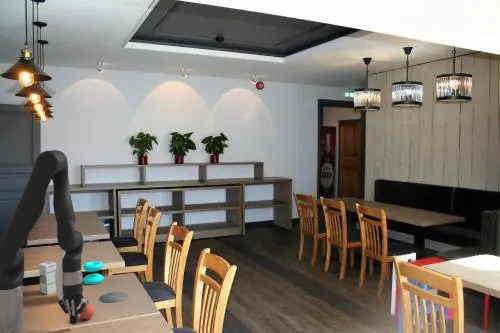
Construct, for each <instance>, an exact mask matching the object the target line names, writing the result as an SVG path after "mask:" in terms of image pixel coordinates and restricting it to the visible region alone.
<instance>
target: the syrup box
mask: <svg viewBox="0 0 500 333" xmlns="http://www.w3.org/2000/svg"><path fill="white" fill-rule="evenodd" d="M38 266H39V268H38V269H39V270H38V271H39V292H40V293H41V294H45V295H51V294H54V293H57V292H56V284H55V272H56V268H57V263H56V262H53V261H50V260H49V261H44V262H42V263H39V264H38Z"/></svg>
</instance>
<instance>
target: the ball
mask: <svg viewBox="0 0 500 333" xmlns="http://www.w3.org/2000/svg"><path fill="white" fill-rule="evenodd" d="M95 310H96V308H95V307H94V306H93V305H92V304H89V303H88V305H87V306H86V307H85V309H84V310H83V312H81V313H80V314H79V316H80V318H82V319H83V320H90V319H91V318H93V317H94V315H95Z"/></svg>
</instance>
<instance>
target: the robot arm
mask: <svg viewBox="0 0 500 333" xmlns="http://www.w3.org/2000/svg"><path fill="white" fill-rule="evenodd" d="M51 181H52V186H53V188H52V189H53V197H52V198H53V199H52V200H53V201H52V208H53V212H54V217H55V220H56V221H55V222H56V239H57V243H58V246H59V248H60V249H61V251H62V250H64V251H66V252H65V256H64V257H63V259H62V293H63V298H62V299H61V300H59V299H58V300H57V304H58V305H59V307H60V308H61V310H62V311H63V313H64V314H66V315H67V314H68V316H69V323H70V325H74V326H75V325H76V324H77V323H78V322H79V315H80V313H81V312H83V310H84V309H85V307H86V306H87V305H88V304H89V301H88V300H85V299H84V295H83V292H84V286H83V284H84V281H83V279H84V277H83V270H82V269H83V268H82V255H83V248H84V237H83V234H82V232H80V231H79V230H78V229H75V224H76V219H77V218H76V213H75V209H74V205H73V204H74V203H73V201H72V195H71V188H70V178H69V162H68V157H67V156H66V154H65V153H64V152H63V151H61V150H57V149H54V150H53V149H52V150H51V149H50V150H45V151H44V150H43V151H42V152H41V153H40V154H38V156H37V158H36V160H35V163H34V165H33V167H32V171H31V174H30V177H29V180H28V182H27V184H26V186H25V188H24V189H23V192H22V194H21V195H20V196H21V197H20V198H19V201H18V203H17V205H16V207H15V209H14V211H13V213H12V215H11V218H10V220H9V222H8V225H7V227H6V229H5V232H4V233H3V236H2V238H1V239H0V333H15V332H18V331H20V330H22V329H23V328H24V323H25V322H24V302H23V301H24V299H23V298H24V297H23V295H24V294H23V279H24V278H25V277H24V275H25V254H24V250H23V249H22V248H21V246H22V243H23V242H24V241H25V239H26V238H27V236H28V235H29V234H30V233H31V231H32V230H33V229H34V228H35V226H36V225H37V224H38V222H39V220H40V218H41V216H42V214H43V211H44V208H45V205H46V200H47V199H46V196H47V190H48V188H49V185H50V184H51Z"/></svg>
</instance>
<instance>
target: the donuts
mask: <svg viewBox="0 0 500 333" xmlns="http://www.w3.org/2000/svg"><path fill="white" fill-rule="evenodd" d="M103 268H104V263H103V262H102V261H97V260H95V261H88V262H86V263H84V264H83V265H82V269H83V270H84V271H85V272H89V274H87V275H86V276H84V277H83V284H86V285H97V284H100V283H102V282H103V281H104V275H102V274H100V273H93V272H97V271H100V270H102V269H103Z"/></svg>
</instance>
